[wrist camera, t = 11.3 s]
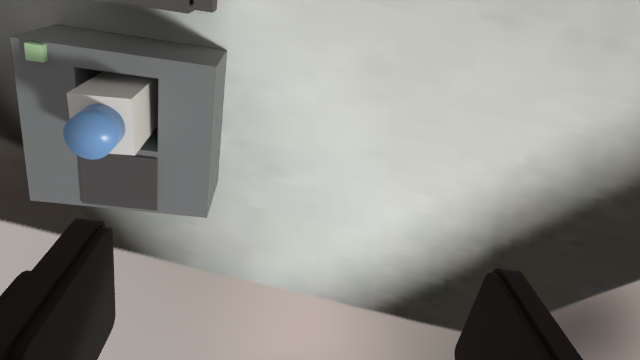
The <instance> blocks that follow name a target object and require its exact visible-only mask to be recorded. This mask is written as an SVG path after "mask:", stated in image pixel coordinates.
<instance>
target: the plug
mask: <svg viewBox="0 0 640 360" xmlns="http://www.w3.org/2000/svg"><path fill="white" fill-rule="evenodd" d="M67 101H68V109H69V117H70V119H69V120H68V121H67V122H66V124H65V126H64V129H63V137H64V140H65V143H66V144H67V146H68V147H69V149H70V150H71V151H72V152H74V153H75V154H76V155H78V156H80V157H82V158H85V159H91V160H95V159H100V158H103V157H105V156H106V155H108V154H120V155H133V156H135V155H136V154H137V152H138V151H139V150H140V148H141V147H142V146H143V144H144V143H145V142H146V140H147V139H148V138H149V137H150V135H151V134H152V133H153V131H154V130H155V129H156V127H157V126H158V79H157V78H150V77H143V76H136V75H128V74H121V73H114V72H107V71H103V72H101V73H99V74H98V75H96V76H94V77H93V78H91V79H89V80H88V81H86V82H84V83H83V84H81V85H79V86H78V87H76V88H74V89H73V90H71V91H69V92H68V93H67Z"/></svg>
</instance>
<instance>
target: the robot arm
mask: <svg viewBox="0 0 640 360" xmlns="http://www.w3.org/2000/svg"><path fill="white" fill-rule="evenodd" d="M113 260H114V259H113V233H112V229H111V228H105V224H104V222H103V221H98V220H90V219H81V218H77V219H75V220H74V221H73V222H72V223H71V224H70V225H69V227H68V228H67V229H66V230H65V231H64V233H63V234H62V235H61V236H60V238H59V239H58V240H57V241H56V242H55V243H54V245H53V246H52V247H51V248H50V250H49V251H48V252H47V253H46V254H45V255H44V257H43V258H42V259H41V260H40V261H39V263H38V264H37V265H36V266H35V267H34V269H33V270H32V271H24V272H22V273H21V274H20V275H19V276H17V277H16V279H15V280H14V281H13V282H12V283H11V284H10V286H9V287H8V288H7V289H6V290H5V291H4V293H3V294H2V295H1V296H0V360H97V359H98V357H99V355H100V353H101V351H102V349H103V347H104V345H105V343H106V341H107V338H108V337H109V335H110V332H111V330H112V328H113V325H114V320H115V289H114V261H113ZM455 360H583V359H582V358H581V357H580V355H579V354H578V352H577V351H576V349H575V348H574V346H573V345H572V344H571V342H570V341H569V339H568V338H567V337H566V335H565V334H564V332H563V331H562V329H561V328H560V327H559V325H558V324H557V322H556V321H555V319H554V318H553V317H552V315H551V314H550V312H549V311H548V310H547V308H546V307H545V305H544V304H543V302H542V301H541V300H540V298H539V297H538V295H537V294H536V292H535V291H534V290H533V288H532V287H531V285H530V284H529V283H528V281H527V280H526V278H525V277H524V275H523V274H522V273H521V272H520V271H517V270H509V269H500V268H497V269H495V270H494V271H493V272H492V273H488V274H487V275H486V277H485V279H484V281H483V283H482V286H481V288H480V291H479V293H478V295H477V298H476V300H475V302H474V305H473V307H472V309H471V312H470V314H469V316H468V319H467V321H466V323H465V326H464V328H463V331H462V333H461V335H460V338H459V340H458V342H457V345H456V348H455Z"/></svg>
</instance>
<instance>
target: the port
mask: <svg viewBox="0 0 640 360" xmlns="http://www.w3.org/2000/svg"><path fill="white" fill-rule="evenodd" d="M10 43H11V51H12V58H13V66H14V74H15V82H16V90H17V98H18V106H19V114H20V122H21V130H22V138H23V146H24V154H25V162H26V170H27V178H28V185H29V193H30V200H33V201H43V202H53V203H63V204H73V205H83V206H93V207H103V208H114V209H124V210H134V211H144V212H154V213H164V214H174V215H185V216H195V217H205V218H207V215H208V212H209V209H210V205H211V202H212V199H213V195H214V192H215V189H216V185H217V182H218V168H219V154H220V140H221V126H222V112H223V99H224V85H225V71H226V57H227V50H222V49H215V48H208V47H202V46H195V45H188V44H182V43H175V42H168V41H162V40H155V39H148V38H142V37H135V36H128V35H121V34H115V33H108V32H101V31H95V30H88V29H81V28H75V27H68V26H61V25H53V26H49V27H46V28H42V29H38V30H34V31H31V32H27V33H23V34H20V35H16V36H12V37H10ZM103 71H107V72H114V73H121V74H128V75H136V76H143V77H150V78H157V79H158V126H157V127H156V129H155V130H154V131H153V133H152V134H151V135H150V137H149V138H148V139H147V140H146V142H145V143H144V144H143V146H142V147H141V148H140V150H139V151H138V152H137V154H136V155H135V156H133V155H120V154H108V155H106V156H105V157H103V158H100V159H95V160H91V159H85V158H82V157H80V156H78V155H76V154H75V153H74V152H72V151H71V150H70V149H69V147H68V146H67V144H66V143H65V140H64V137H63V129H64V126H65V124H66V122H67V121H68V120H69V119H70V117H69V109H68V101H67V93H68V92H69V91H71V90H73V89H74V88H76V87H78V86H79V85H81V84H83V83H84V82H86V81H88V80H89V79H91V78H93V77H94V76H96V75H98V74H99V73H101V72H103Z"/></svg>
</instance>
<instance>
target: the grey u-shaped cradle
mask: <svg viewBox="0 0 640 360" xmlns="http://www.w3.org/2000/svg"><path fill="white" fill-rule="evenodd" d="M110 1H112V2H119V3H125V4H131V5H138V6H144V7H150V8H156V9H163V10H169V11H175V12H182V13H190V12H192V11H194V10H200V11H206V12H214V11H215V10H216V9H217V0H110Z"/></svg>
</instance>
